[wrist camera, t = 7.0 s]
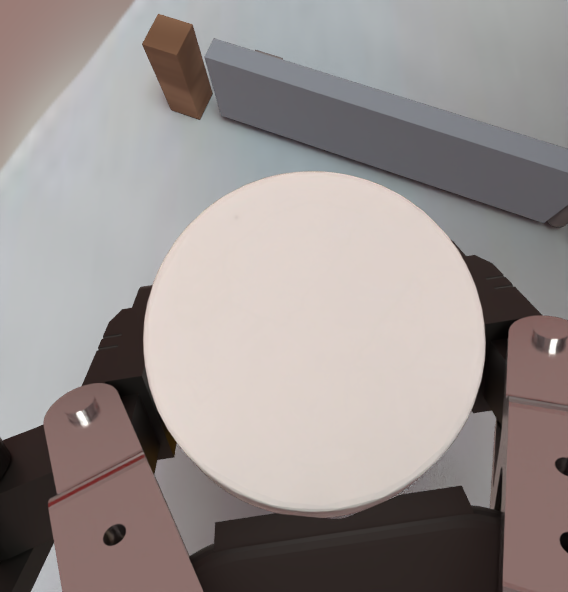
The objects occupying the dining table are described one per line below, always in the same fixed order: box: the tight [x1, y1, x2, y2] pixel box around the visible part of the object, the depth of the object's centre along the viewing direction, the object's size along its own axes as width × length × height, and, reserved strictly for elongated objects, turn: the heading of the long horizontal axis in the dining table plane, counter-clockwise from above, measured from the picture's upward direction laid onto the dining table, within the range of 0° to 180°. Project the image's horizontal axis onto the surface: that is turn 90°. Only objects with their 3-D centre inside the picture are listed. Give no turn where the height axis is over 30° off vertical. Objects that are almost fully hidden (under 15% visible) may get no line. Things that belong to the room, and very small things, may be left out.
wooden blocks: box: [142, 14, 213, 120], centre depth 22 cm, size 2×30×12 cm, turn 68°
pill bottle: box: [143, 171, 486, 518], centre depth 12 cm, size 6×6×11 cm
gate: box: [205, 38, 568, 227], centre depth 26 cm, size 2×21×5 cm, turn 68°
